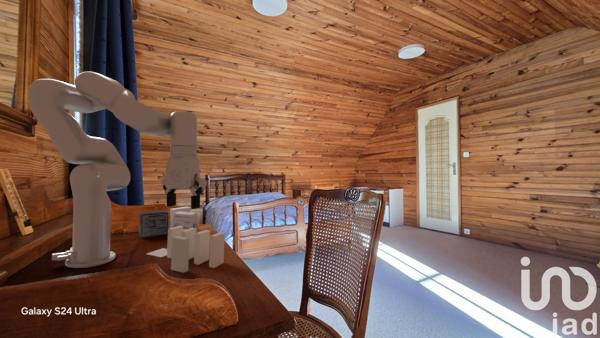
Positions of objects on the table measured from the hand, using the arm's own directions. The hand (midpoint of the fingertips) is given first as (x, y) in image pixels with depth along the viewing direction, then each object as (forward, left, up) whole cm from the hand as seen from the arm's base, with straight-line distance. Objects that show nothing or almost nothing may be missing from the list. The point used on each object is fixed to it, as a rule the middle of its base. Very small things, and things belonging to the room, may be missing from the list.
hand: (183, 207), depth 80 cm
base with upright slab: (+13, +39, -19) cm, 45 cm away
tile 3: (+5, +7, -19) cm, 21 cm away
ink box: (+11, +28, -19) cm, 36 cm away
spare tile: (-1, -1, -19) cm, 19 cm away
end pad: (0, +18, -19) cm, 26 cm away
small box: (+3, +43, -19) cm, 48 cm away
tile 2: (+7, +1, -19) cm, 20 cm away
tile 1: (+10, -4, -19) cm, 22 cm away
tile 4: (+2, +12, -19) cm, 23 cm away
